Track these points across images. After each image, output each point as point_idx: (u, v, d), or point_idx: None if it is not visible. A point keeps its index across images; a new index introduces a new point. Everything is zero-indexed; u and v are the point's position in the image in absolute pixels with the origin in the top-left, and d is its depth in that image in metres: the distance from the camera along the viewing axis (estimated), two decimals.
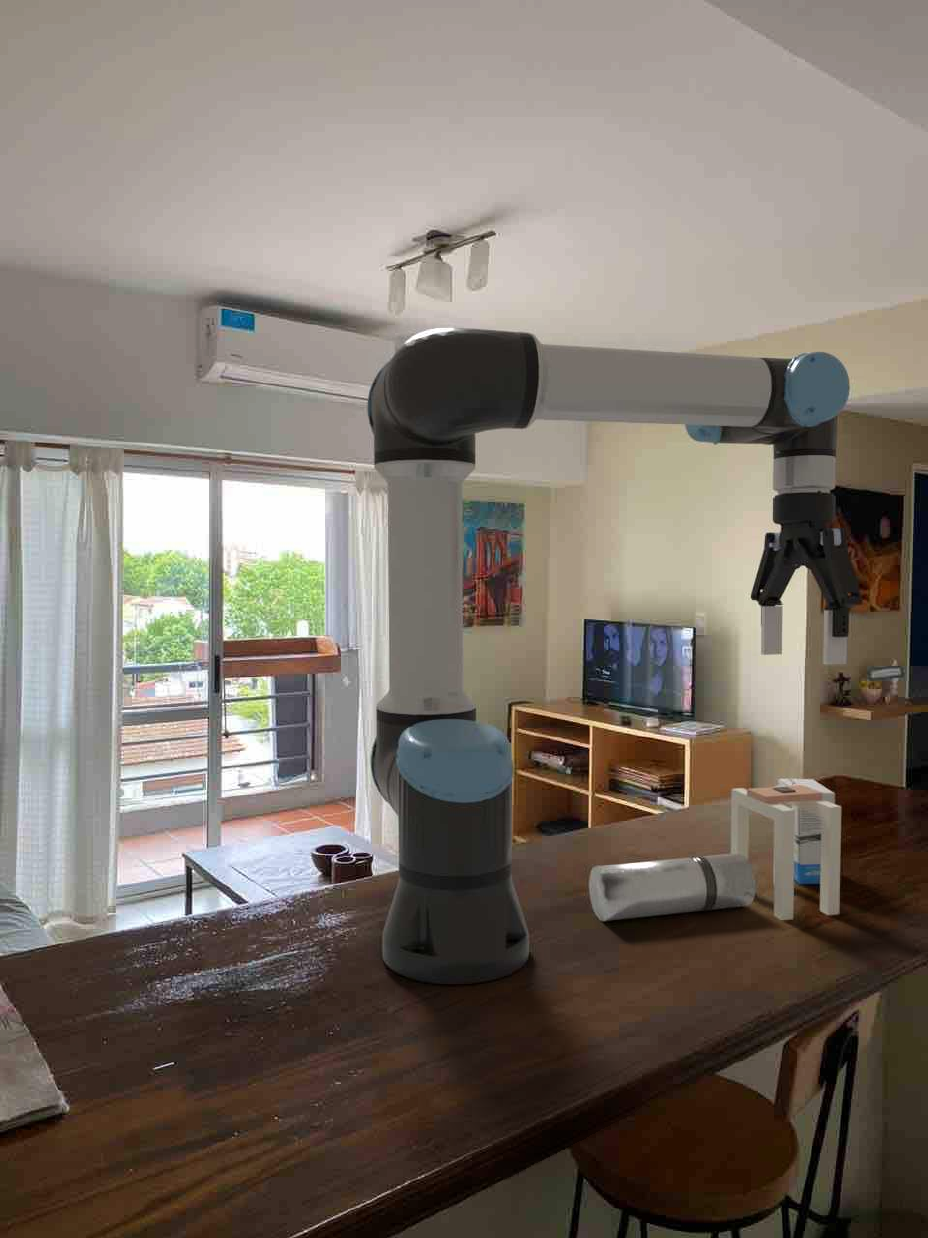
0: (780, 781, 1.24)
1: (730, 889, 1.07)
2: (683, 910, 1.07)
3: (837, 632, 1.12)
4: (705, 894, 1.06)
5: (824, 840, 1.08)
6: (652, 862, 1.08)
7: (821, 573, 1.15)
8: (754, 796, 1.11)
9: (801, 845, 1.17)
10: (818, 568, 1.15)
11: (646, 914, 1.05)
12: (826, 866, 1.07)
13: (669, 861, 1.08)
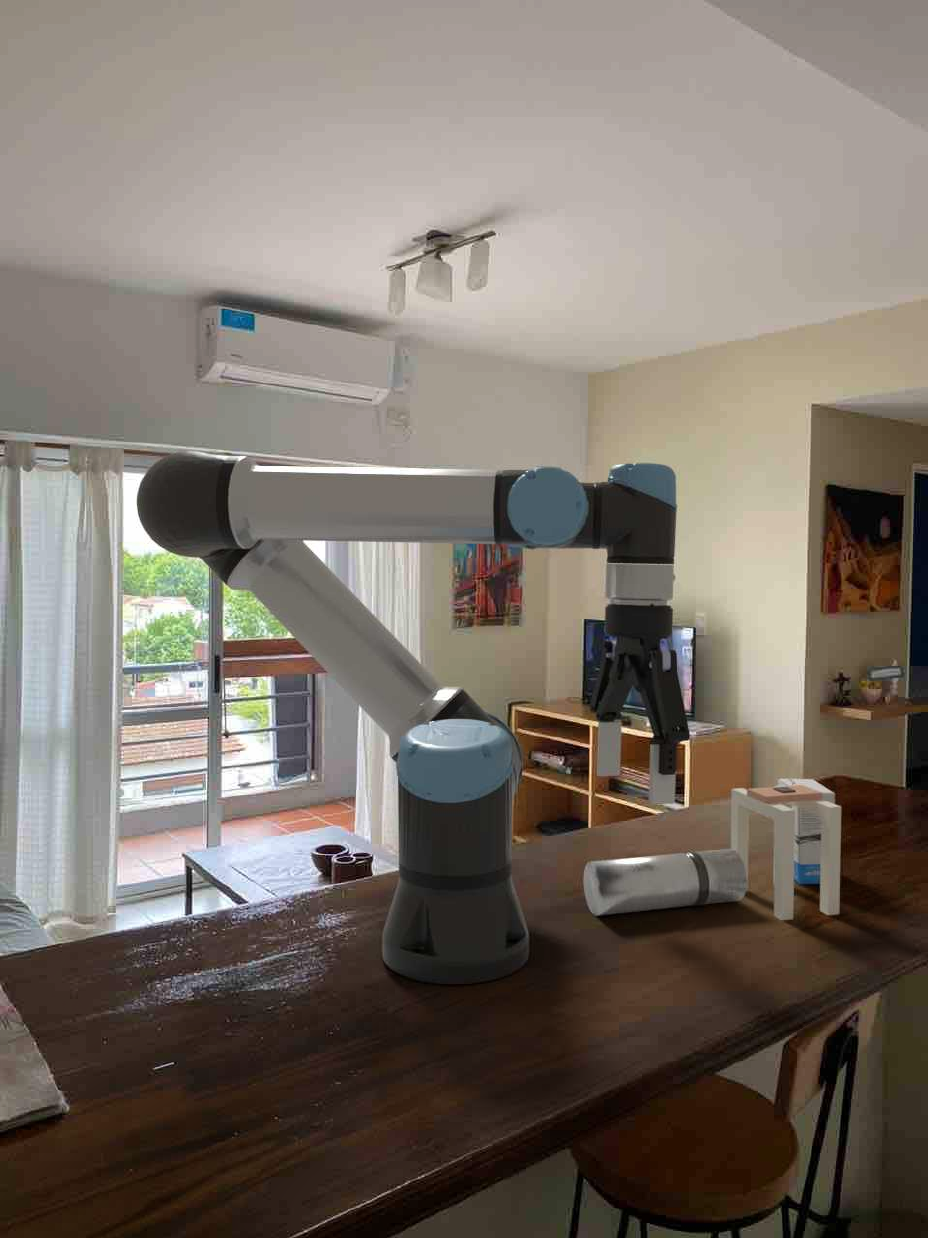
0: (780, 781, 1.24)
1: (719, 869, 1.09)
2: (679, 894, 1.07)
3: (663, 769, 0.99)
4: (696, 874, 1.08)
5: (824, 840, 1.08)
6: None
7: (649, 699, 1.01)
8: (754, 796, 1.11)
9: (801, 845, 1.17)
10: (647, 693, 1.02)
11: (643, 898, 1.06)
12: (826, 866, 1.07)
13: None
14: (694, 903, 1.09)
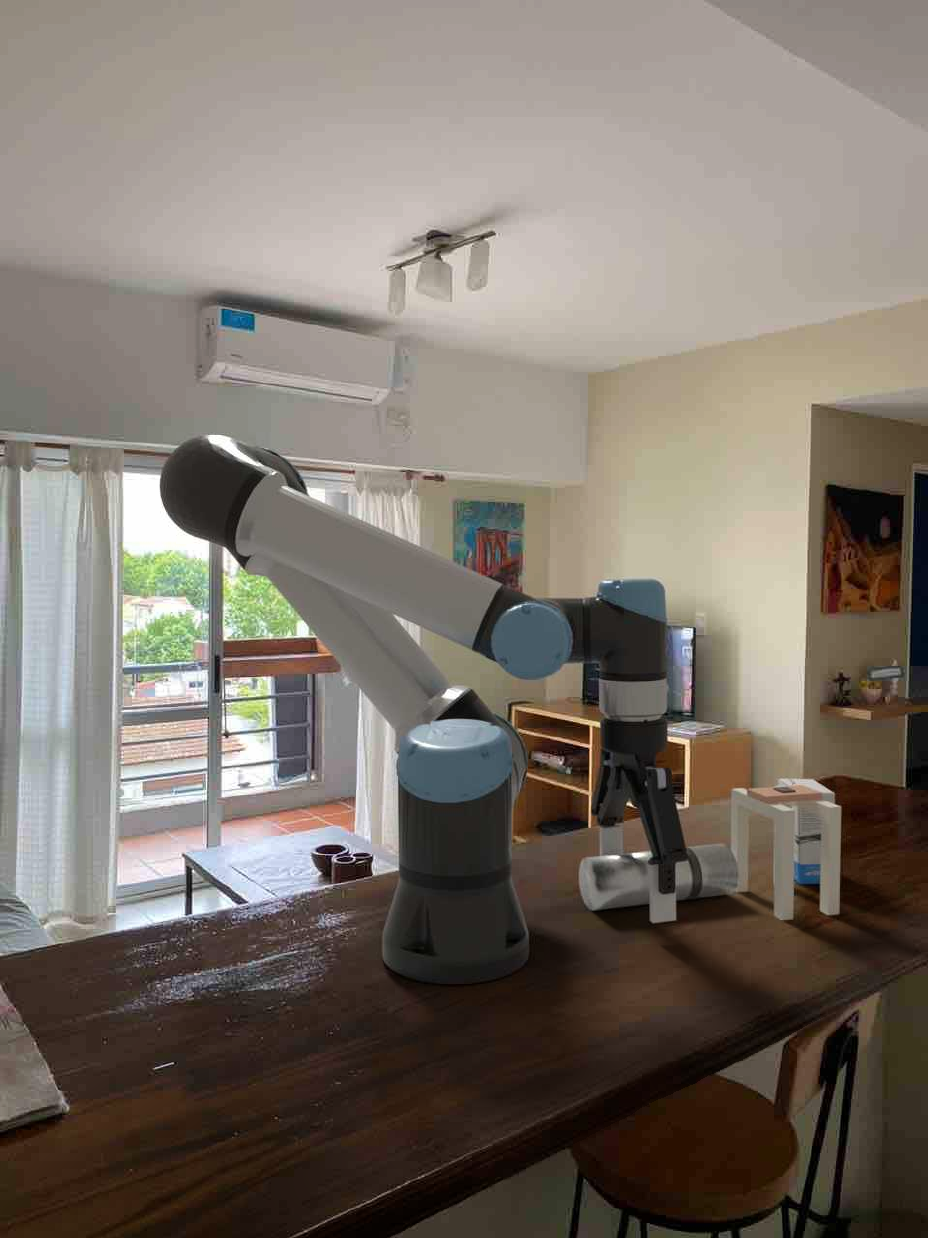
0: (780, 781, 1.24)
1: (702, 848, 1.13)
2: None
3: (662, 889, 0.99)
4: None
5: (824, 840, 1.08)
6: None
7: (646, 817, 1.01)
8: (754, 796, 1.11)
9: (801, 845, 1.17)
10: (644, 810, 1.02)
11: (636, 871, 1.08)
12: (826, 866, 1.07)
13: None
14: (691, 881, 1.10)
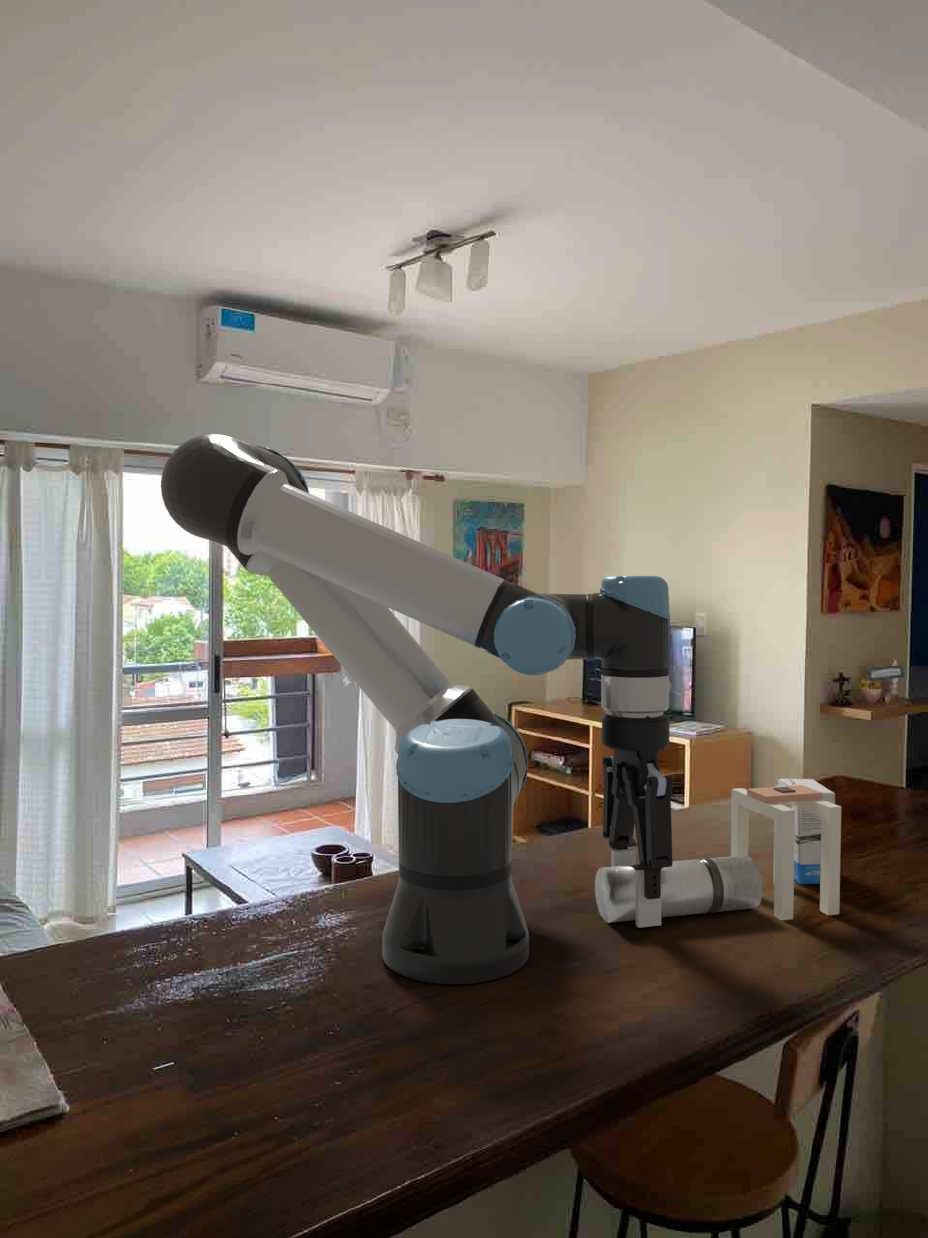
0: (780, 781, 1.24)
1: (736, 896, 1.06)
2: (688, 914, 1.06)
3: (648, 894, 1.02)
4: (711, 900, 1.06)
5: (824, 840, 1.08)
6: None
7: (640, 821, 1.03)
8: (754, 796, 1.11)
9: (801, 845, 1.17)
10: (639, 814, 1.03)
11: None
12: (826, 866, 1.07)
13: (677, 865, 1.07)
14: None
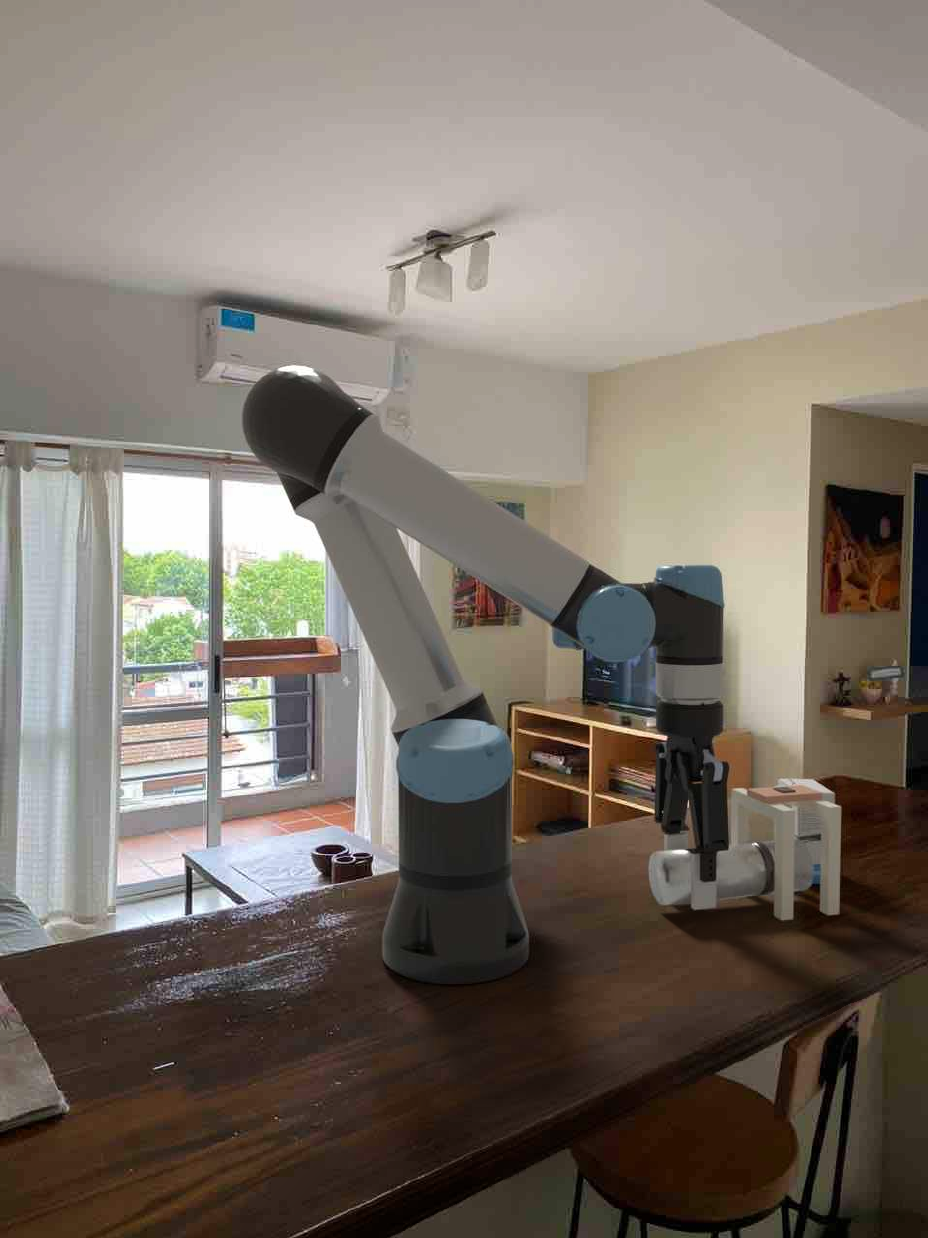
0: (780, 781, 1.24)
1: None
2: (741, 896, 1.08)
3: (704, 877, 1.04)
4: (764, 882, 1.08)
5: (824, 840, 1.08)
6: None
7: (695, 806, 1.05)
8: (754, 796, 1.11)
9: None
10: (695, 798, 1.05)
11: None
12: (826, 866, 1.07)
13: (730, 848, 1.09)
14: None
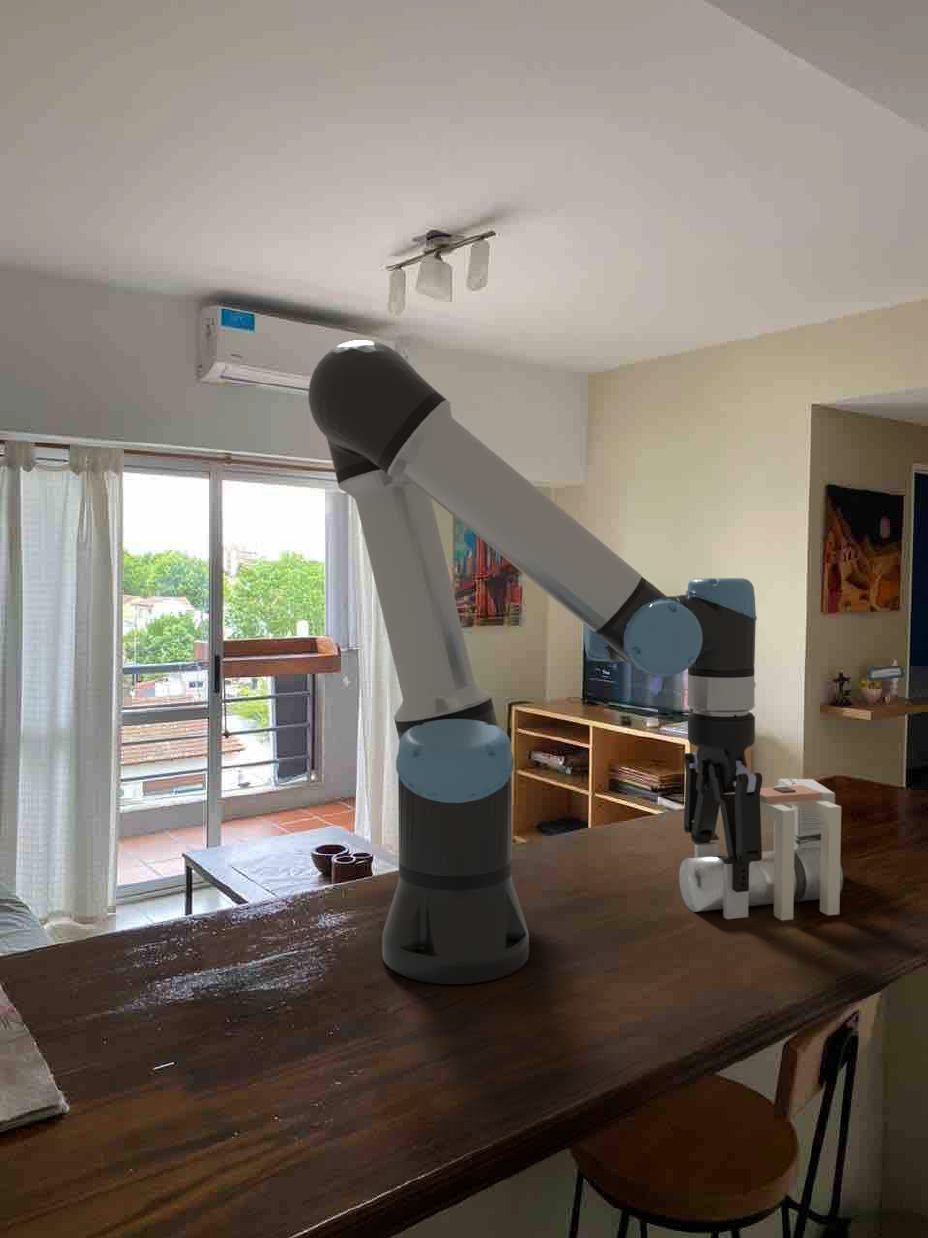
0: (780, 781, 1.24)
1: (818, 885, 1.10)
2: (771, 903, 1.10)
3: (736, 887, 1.05)
4: (794, 890, 1.09)
5: (824, 840, 1.08)
6: None
7: (728, 817, 1.06)
8: None
9: (801, 845, 1.17)
10: (727, 809, 1.06)
11: None
12: (826, 866, 1.07)
13: None
14: None
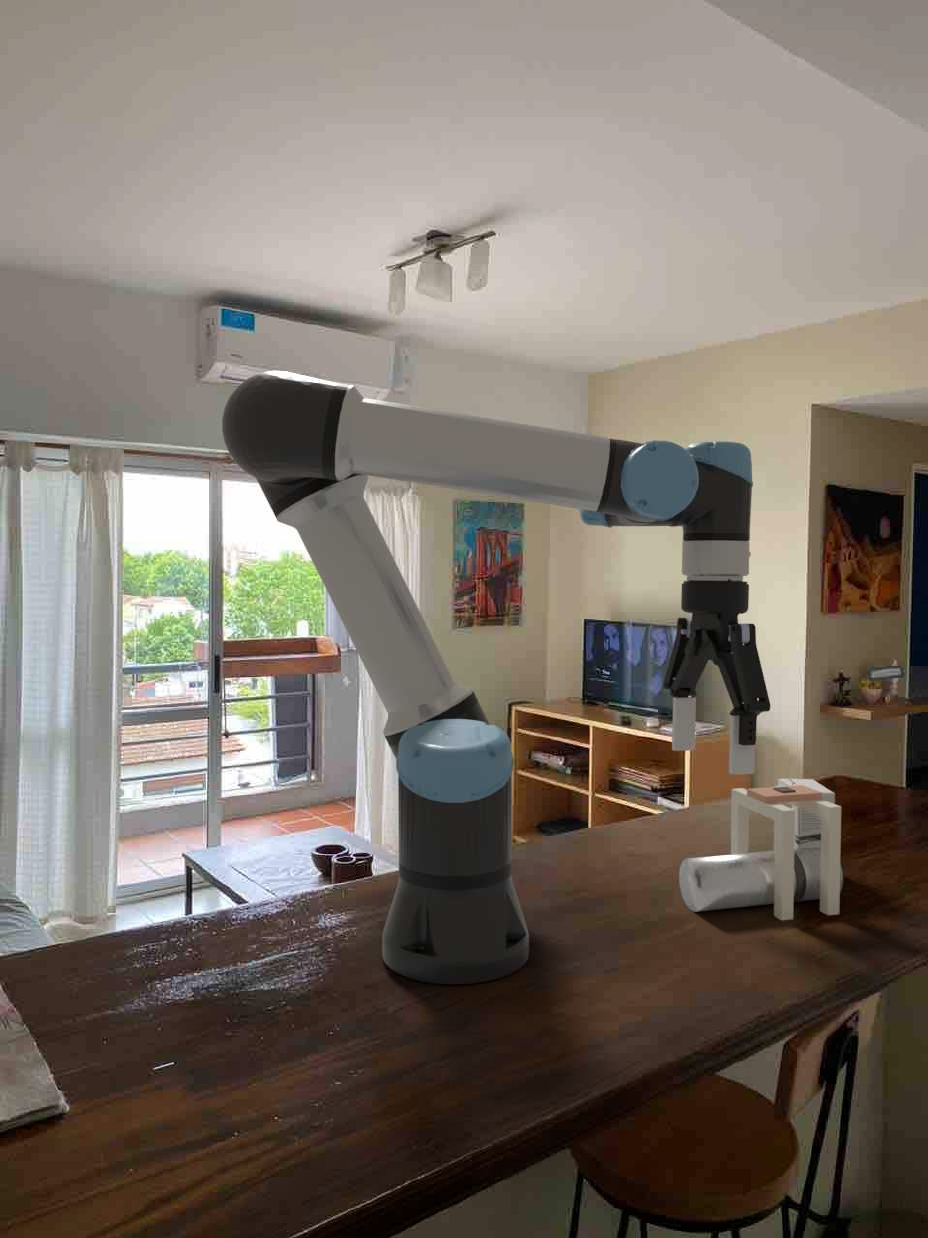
0: (780, 781, 1.24)
1: (818, 885, 1.10)
2: (771, 903, 1.10)
3: (743, 740, 1.01)
4: (794, 890, 1.09)
5: (824, 840, 1.08)
6: (743, 856, 1.10)
7: (728, 672, 1.03)
8: (754, 796, 1.11)
9: (801, 845, 1.17)
10: (726, 666, 1.04)
11: (736, 907, 1.09)
12: (826, 866, 1.07)
13: (760, 855, 1.10)
14: None
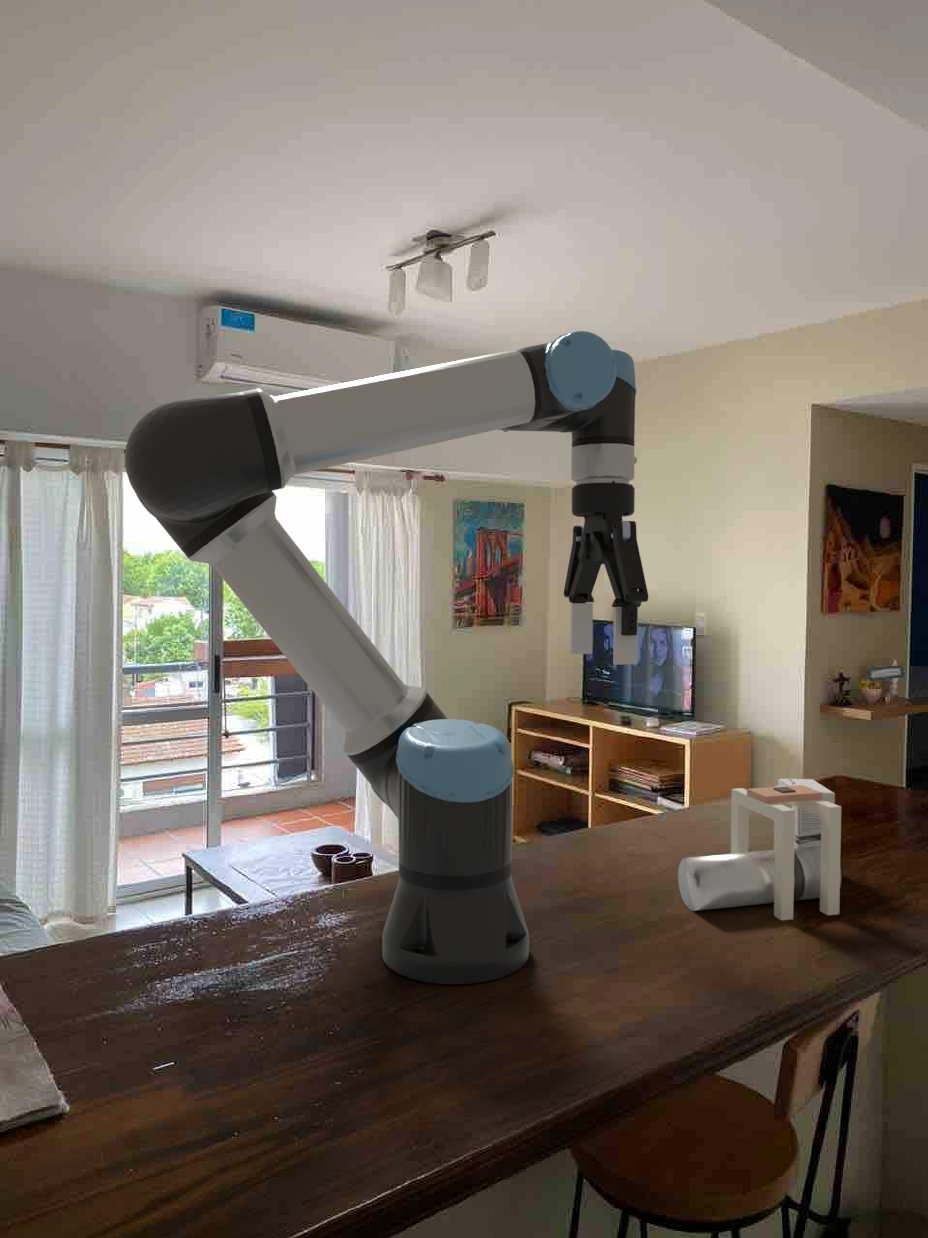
0: (780, 781, 1.24)
1: (817, 882, 1.10)
2: (771, 901, 1.10)
3: (625, 630, 1.06)
4: None
5: (824, 840, 1.08)
6: (741, 855, 1.10)
7: (612, 568, 1.08)
8: (754, 796, 1.11)
9: (801, 845, 1.17)
10: (610, 562, 1.09)
11: (736, 905, 1.09)
12: (826, 866, 1.07)
13: (758, 853, 1.11)
14: None
